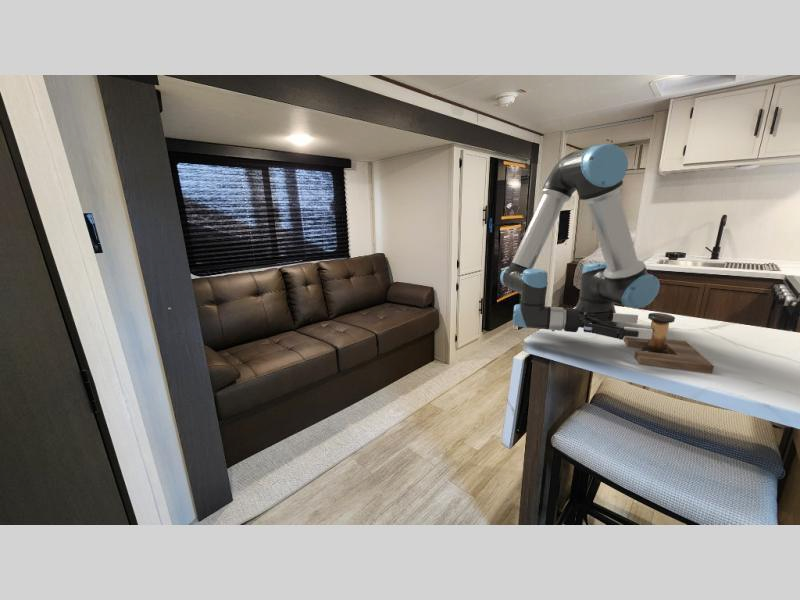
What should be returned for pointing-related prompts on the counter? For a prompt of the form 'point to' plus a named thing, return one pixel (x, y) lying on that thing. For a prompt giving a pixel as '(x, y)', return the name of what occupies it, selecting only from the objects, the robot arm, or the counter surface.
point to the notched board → (671, 355)
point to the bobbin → (658, 332)
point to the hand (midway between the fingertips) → (644, 326)
